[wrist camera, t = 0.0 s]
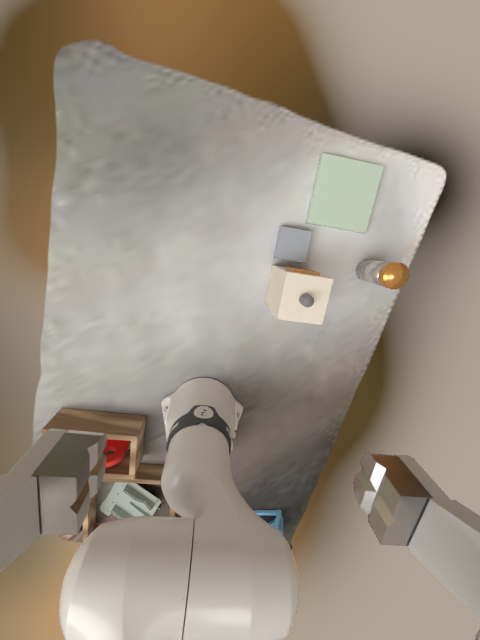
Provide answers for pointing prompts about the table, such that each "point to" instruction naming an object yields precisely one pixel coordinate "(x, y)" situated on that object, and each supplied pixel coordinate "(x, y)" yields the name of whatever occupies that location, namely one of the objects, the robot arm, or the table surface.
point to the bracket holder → (114, 428)
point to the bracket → (116, 451)
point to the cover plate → (292, 244)
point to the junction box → (298, 294)
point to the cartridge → (383, 273)
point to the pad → (344, 193)
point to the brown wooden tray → (143, 476)
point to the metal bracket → (130, 501)
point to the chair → (275, 522)
